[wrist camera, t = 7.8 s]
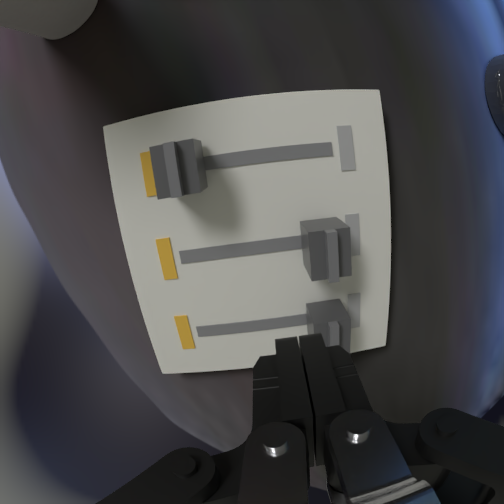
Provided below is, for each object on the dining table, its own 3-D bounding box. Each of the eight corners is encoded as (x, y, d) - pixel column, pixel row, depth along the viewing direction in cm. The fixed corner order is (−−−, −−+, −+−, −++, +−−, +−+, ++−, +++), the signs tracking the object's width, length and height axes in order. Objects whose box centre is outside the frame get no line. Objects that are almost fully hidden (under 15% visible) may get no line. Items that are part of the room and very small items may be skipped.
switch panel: (368, 94, 20) (379, 89, 18) (377, 333, 26) (385, 346, 24) (114, 128, 20) (102, 126, 18) (167, 360, 26) (162, 374, 24)
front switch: (201, 140, 19) (191, 137, 15) (207, 186, 20) (199, 193, 16) (163, 147, 19) (145, 147, 15) (170, 192, 20) (154, 201, 16)
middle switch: (336, 216, 20) (353, 229, 17) (338, 259, 21) (354, 279, 18) (299, 221, 20) (310, 235, 17) (303, 264, 21) (313, 285, 18)
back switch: (339, 298, 22) (353, 323, 19) (339, 332, 23) (352, 360, 20) (305, 303, 22) (315, 329, 19) (307, 337, 23) (316, 366, 20)
